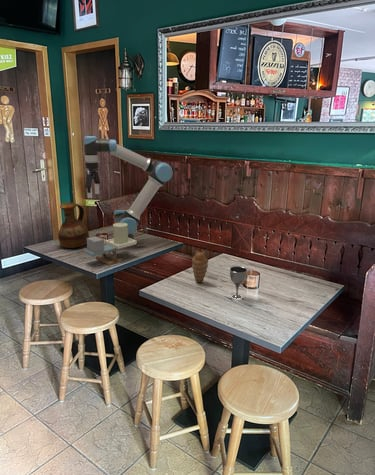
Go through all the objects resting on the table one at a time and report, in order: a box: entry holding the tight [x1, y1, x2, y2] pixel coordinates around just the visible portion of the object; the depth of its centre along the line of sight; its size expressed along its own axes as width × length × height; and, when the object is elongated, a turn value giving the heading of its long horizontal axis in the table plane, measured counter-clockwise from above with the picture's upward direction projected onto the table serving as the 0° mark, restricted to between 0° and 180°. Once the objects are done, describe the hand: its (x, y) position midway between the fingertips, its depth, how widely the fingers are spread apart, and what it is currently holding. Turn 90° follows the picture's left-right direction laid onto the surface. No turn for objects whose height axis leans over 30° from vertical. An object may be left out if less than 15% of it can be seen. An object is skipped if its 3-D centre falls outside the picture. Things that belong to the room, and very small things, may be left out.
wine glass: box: [229, 265, 248, 299], centre depth 183 cm, size 8×8×15 cm
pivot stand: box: [95, 250, 124, 266], centre depth 231 cm, size 10×15×8 cm, turn 44°
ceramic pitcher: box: [57, 202, 90, 249], centre depth 253 cm, size 20×20×30 cm
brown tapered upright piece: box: [191, 250, 209, 284], centre depth 199 cm, size 9×8×18 cm
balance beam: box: [83, 236, 137, 257], centre depth 229 cm, size 30×14×8 cm, turn 134°
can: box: [112, 223, 129, 245], centre depth 233 cm, size 9×9×12 cm
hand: (93, 195), depth 238 cm, fingers open, 13 cm apart
